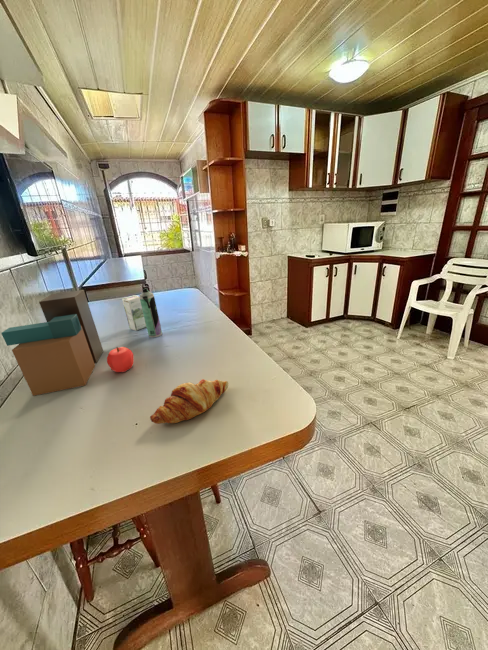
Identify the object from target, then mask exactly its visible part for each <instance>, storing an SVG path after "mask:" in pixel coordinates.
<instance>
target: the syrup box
mask: <svg viewBox="0 0 488 650" xmlns="http://www.w3.org/2000/svg"><path fill="white" fill-rule="evenodd" d="M121 300H122V304H123V308H124V312H125V317H126V320H127V324H128V328H129V329H130V330H131V331H136V332H137V331H139V330H142V329H145V328H147V327H146V323H145V318H144V314H143V310H142V306H141V302H140V296H139V295H135V294H134V295H130V296H127V297H123V298H121Z"/></svg>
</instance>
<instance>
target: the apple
mask: <svg viewBox="0 0 488 650" xmlns="http://www.w3.org/2000/svg"><path fill="white" fill-rule="evenodd" d="M134 359H135V358H134V353H133V351H132V350H131V349H130V348H128V347H125V346H120V347H118V346H116V348H113V349H111V350H110V351H109V352H108V354H107V357H106V364H107V365H108V366H109V368H110V369H111V371H113V372H115V373H126V372H127V371H129V370H130V369H131V368H133V366H134V364H135V361H134Z"/></svg>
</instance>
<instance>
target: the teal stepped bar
mask: <svg viewBox="0 0 488 650" xmlns="http://www.w3.org/2000/svg"><path fill="white" fill-rule="evenodd" d="M81 329H82V328H81V325H80V322H79V319H78V317H77V314H73V315H66V316H59V317H54V318H53V319H52V320H51V321H49V322H47V321H45V322H39V323H32V324H31V323H30V324H25V325H24V324H23V325H19V326H12V327H8V328H6V329H5V330H3V331H2V332H0V335H1V336H2V338H3V340H4V343H5V344H6V347H7V346H8V347H9V346H14V345H16V346H17V345H19V344H22V343H28V342H34V341H40V340H46V339H53V338H54V339H56V338H62V337H69V336H75V335H77V334H78V333H79V332H80V331H81Z"/></svg>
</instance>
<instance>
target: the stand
mask: <svg viewBox="0 0 488 650" xmlns="http://www.w3.org/2000/svg"><path fill="white" fill-rule="evenodd" d="M38 304H39V305H40V308H41V311H42V314H43V317H44V318H45V322H49V321H51V320H52V319H53V318H54V317H59V316H66V315H73V314H77V317H78V319H79V322H80V325H81V326H82V329H83V331H84V334H85V337H86V340H87V343H88V346H89V349H90V352H91V355H92V358H93V361H94V364H95V365H96V364H97V363H98V362H99V360H100V358H101V356H102V354H103V352H104V348H103V346H102V345H103V344H102V343H101V339H100V336H99V333H98V330H97V327H96V326H97V325H96V324H95V319H94V317H93V315H92V314H93V313H92V311H91V308H90V304H89V301H88V299H87V294H86V292H85V289H77V290H71V291H70V290H69V291H64V292H63V291H62V292H56V293H51V294H49V295H48V296H46V297H44V298H43V299H41V300H39V301H38Z"/></svg>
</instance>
